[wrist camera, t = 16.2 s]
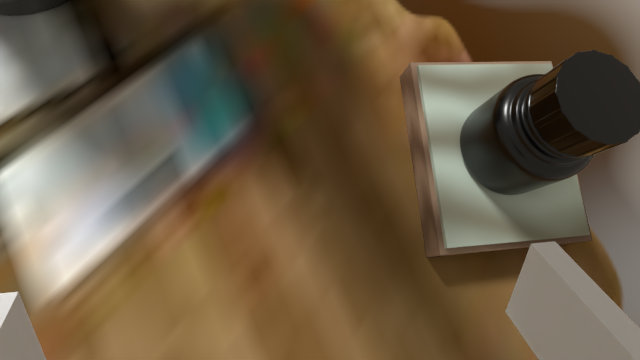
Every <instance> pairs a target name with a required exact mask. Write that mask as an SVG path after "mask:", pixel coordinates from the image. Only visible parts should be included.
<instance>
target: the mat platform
mask: <svg viewBox="0 0 640 360" xmlns="http://www.w3.org/2000/svg"><path fill="white" fill-rule="evenodd" d="M552 69H553V66H552V62H551V61H545V62H544V61H543V62H542V61H540V62H539V61H535V62H437V63H410V64H409V66H408V67H407V68H406V69H405V71H404V72H403V73H402V75H401V76H400V82H401V88H402V95H403V102H404V109H405V115H406V122H407V129H408V136H409V142H410V149H411V156H412V163H413V169H414V176H415V183H416V190H417V196H418V203H419V210H420V217H421V223H422V230H423V237H424V244H425V250H426V257H436V256H446V255H457V254H467V253H477V252H488V251H498V250H509V249H519V248H530V245H531V244H532V243H542V242H553V241H555V242H556V243H557V244H558V245H561V244H571V243H578V242H585V241H592V237H591V233H590V228H589V224H588V220H587V216H586V211H585V207H584V202H583V198H582V194H581V189H580V185H579V180H578V176H577V174H576V175H574V176H572V177H570V178H568V179H565V180H562V181H559V182H556V183H553V184H550V185H547V186H544V187H541V188H538V189H535V190H532V191H529V192H526V193H523V194H518V195H503V194H499V193H495V192H493V191H491V190H489V189H487V188H486V187H484V186H483V185H482V184H481V183H479V182H478V181H477V180H476V179H475V177H474V176H473V175H472V174H471V172H470V171H469V169H468V168H467V166H466V164H465V162H464V159H463V157H462V153H461V149H460V133H461V129H462V126H463V124H464V122H465V120H466V119H467V118H468V116H469V115H470V114H471V113H472V112H473V111H474V110H475V109H477V108H478V107H479V106H480V105H482V104H483V103H484V102H486V101H487V100H488V99H490V98H491V97H492V96H494V95H495V94H496V93H498V92H499V91H500V90H501V89H503V88H504V87H505V86H507V85H508V84H509V83H511V82H513V81H514V80H516V79H518V78H521V77H524V76H527V75H532V74H546V73H548V72H549V71H550V70H552Z"/></svg>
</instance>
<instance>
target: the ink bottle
mask: <svg viewBox="0 0 640 360" xmlns="http://www.w3.org/2000/svg"><path fill="white" fill-rule="evenodd" d="M639 132H640V82H639V80H637V79H636V77H635V76H634V75H633V73H632V72H631V71H630V69H629V67H628V66H626V65H624V64H623V63H621V62H620V61H619V60H617V59H616V58H614V56H612V55H608V54H604V53H601V52H598V51H596V50H592V51H586V52H577V53H575V54H574V55H573V56H571V57H570V58H568V59H566V60H565V61H563V62H562V63H560V64H559V65H557V66H556V67H555V68H553V69H552V70H550V71H549V72H548V73H546V74H532V75H527V76H524V77H521V78H518V79H516V80H514V81H513V82H511V83H509V84H508V85H507V86H505V87H504V88H503V89H501V90H500V91H499V92H498V93H496V94H495V95H494V96H492V97H491V98H490V99H488V100H487V101H486V102H484V103H483V104H482V105H480V106H479V107H478V108H477V109H475V110H474V111H473V112H472V113H471V114H470V115H469V116H468V118H467V119H466V120H465V122H464V124H463V126H462V129H461V133H460V149H461V153H462V157H463V159H464V162H465V164H466V166H467V168H468V169H469V171H470V172H471V174H472V175H473V176H474V177H475V179H476V180H477V181H478V182H479V183H481V184H482V185H483V186H484V187H486V188H487V189H489V190H491V191H493V192H495V193H499V194H503V195H518V194H523V193H526V192H529V191H532V190H535V189H538V188H541V187H544V186H547V185H550V184H553V183H556V182H559V181H562V180H565V179H568V178H570V177H572V176H574V175H576V174H577V173H579V172H580V171H582V170H583V169H584V168H585V167H586V166H587V165H588V164H589V162H590V161H591V159H592V158H593V156H594V154H597V153H599V152H602V151H605V150H607V149H610V148H612V147H615V146H618V145H620V144H623V143H625V142H627V141H628V140H629V139H630V138H632V137H633V136H634V135H636V134H638V133H639Z"/></svg>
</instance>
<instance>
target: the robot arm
mask: <svg viewBox="0 0 640 360" xmlns="http://www.w3.org/2000/svg"><path fill="white" fill-rule="evenodd" d="M65 1H67V0H0V14H1V15H23V14H31V13H36V12H40V11H44V10H47V9H50V8H53V7H55V6H58V5H60V4H62V3H64V2H65ZM505 312H506V313H507V315H508V316H509V318H510V319H511V321H512V322H513V323H514V325H515V326H516V328H517V329H518V331H519V332H520V334H521V335H522V336H523V338H524V339H525V341H526V342H527V344H528V345H529V347H530V348H531V349H532V351H533V352H534V354H535V355H536V357H537V358H538V360H640V328H639V327H638V326H637V325H636V324H635V323H634V322H633V321H632V320H631V319H630V318H629V317H628V316H627V315H626V314H625V313H624V312H623V311H622V310H621V309H620V308H619V307H618V306H617V305H616V303H615V302H614V301H613V300H612V299H611V298H610V297H609V296H608V295H607V294H606V293H605V292H604V291H603V290H602V289H601V288H600V287H599V286H598V285H597V284H596V283H595V282H594V281H593V280H592V279H591V278H590V277H589V276H588V275H587V274H586V273H585V272H584V271H583V270H582V269H581V268H580V266H579V265H578V264H577V263H576V262H575V261H574V260H573V259H572V258H571V257H570V256H569V255H568V254H567V253H566V252H565V251H564V250H563V249H562V248H561V247H560V246H559V245H558V244H557V243H556V242H555V241H553V242H542V243H532V244H531V245H530V248H529V250H528V253H527V256H526V258H525V261H524V264H523V266H522V269H521V272H520V274H519V277H518V280H517V282H516V285H515V287H514V290H513V293H512V295H511V298H510V301H509V303H508V306H507V309H506V311H505ZM0 360H46V358H45V355H44V353H43V350H42V348H41V346H40V343H39V341H38V338H37V336H36V333H35V331H34V329H33V326H32V324H31V321H30V319H29V317H28V314H27V312H26V309H25V307H24V304H23V302H22V300H21V297H20V295H19V292H11V293H0Z"/></svg>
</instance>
